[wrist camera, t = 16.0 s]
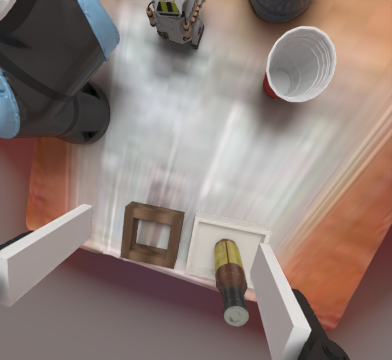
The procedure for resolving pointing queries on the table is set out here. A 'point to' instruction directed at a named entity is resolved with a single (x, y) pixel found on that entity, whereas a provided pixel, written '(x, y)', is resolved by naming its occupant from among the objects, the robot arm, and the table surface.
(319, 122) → the table surface
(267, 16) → the canister
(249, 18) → the table surface
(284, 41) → the plastic cup
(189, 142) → the table surface
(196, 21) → the figurine
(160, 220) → the walnut holder
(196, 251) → the plastic tray
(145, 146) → the table surface
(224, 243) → the sauce bottle
